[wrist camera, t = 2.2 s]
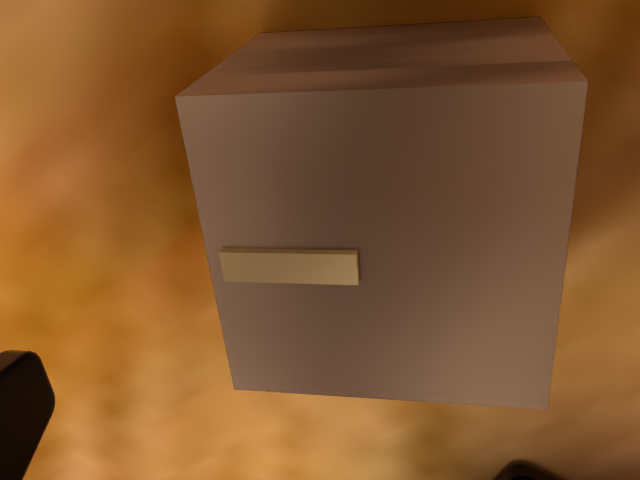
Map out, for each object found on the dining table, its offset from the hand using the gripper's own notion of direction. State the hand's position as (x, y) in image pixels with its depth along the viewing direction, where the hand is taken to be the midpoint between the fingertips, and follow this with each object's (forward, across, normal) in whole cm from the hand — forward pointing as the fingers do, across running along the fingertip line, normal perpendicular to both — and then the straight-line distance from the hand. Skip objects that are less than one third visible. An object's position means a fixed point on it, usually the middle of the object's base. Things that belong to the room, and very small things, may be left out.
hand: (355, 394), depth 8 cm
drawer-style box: (+8, 0, 0) cm, 8 cm away
